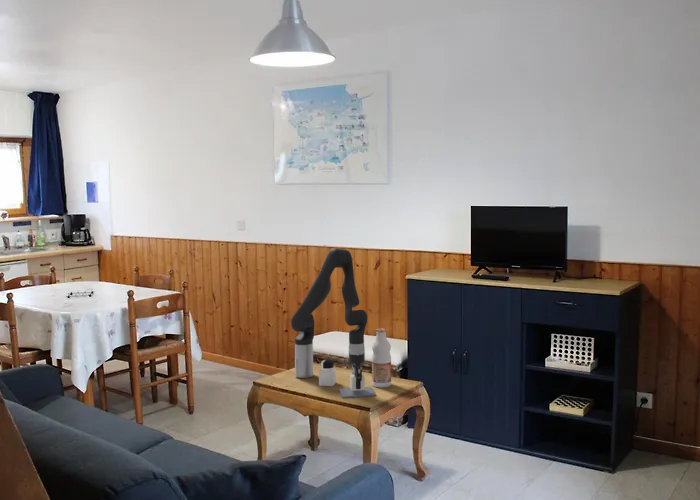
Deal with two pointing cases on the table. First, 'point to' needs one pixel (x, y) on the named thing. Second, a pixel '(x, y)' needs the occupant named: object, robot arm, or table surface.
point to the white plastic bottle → (381, 360)
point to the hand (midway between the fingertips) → (357, 386)
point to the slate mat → (357, 392)
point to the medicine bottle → (327, 373)
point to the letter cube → (353, 383)
